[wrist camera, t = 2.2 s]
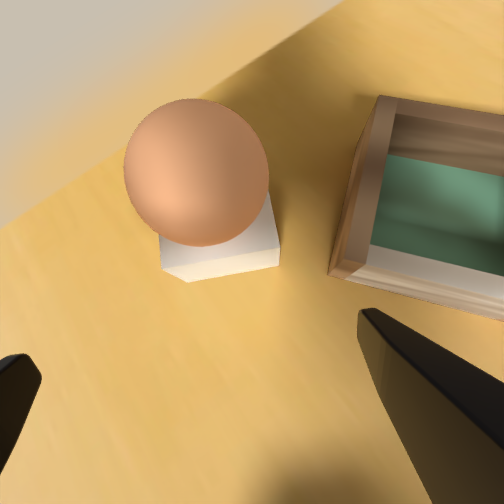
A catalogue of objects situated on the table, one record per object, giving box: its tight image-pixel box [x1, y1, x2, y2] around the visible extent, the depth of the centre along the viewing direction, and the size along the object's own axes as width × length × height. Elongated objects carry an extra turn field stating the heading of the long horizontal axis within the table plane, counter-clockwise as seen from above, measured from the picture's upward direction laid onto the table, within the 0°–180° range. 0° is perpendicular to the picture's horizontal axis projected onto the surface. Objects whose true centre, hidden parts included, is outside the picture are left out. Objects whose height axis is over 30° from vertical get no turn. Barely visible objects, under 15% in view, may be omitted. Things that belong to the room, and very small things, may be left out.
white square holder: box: [159, 190, 280, 283], centre depth 19 cm, size 7×7×5 cm
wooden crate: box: [328, 95, 504, 322], centre depth 18 cm, size 11×12×5 cm
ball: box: [124, 99, 269, 247], centre depth 14 cm, size 7×7×7 cm
